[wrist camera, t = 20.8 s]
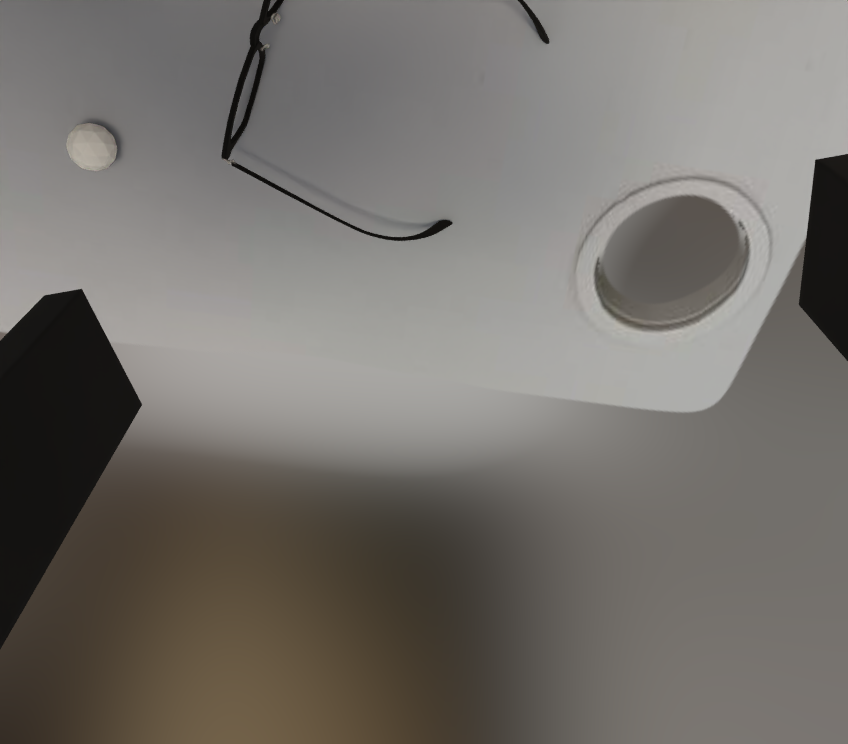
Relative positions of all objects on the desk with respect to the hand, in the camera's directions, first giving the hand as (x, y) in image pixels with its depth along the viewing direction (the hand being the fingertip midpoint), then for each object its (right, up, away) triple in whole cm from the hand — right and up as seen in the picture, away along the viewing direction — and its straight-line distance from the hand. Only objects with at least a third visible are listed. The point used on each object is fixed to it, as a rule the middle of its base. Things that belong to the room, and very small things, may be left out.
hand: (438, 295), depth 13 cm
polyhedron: (-21, +14, +33) cm, 42 cm away
